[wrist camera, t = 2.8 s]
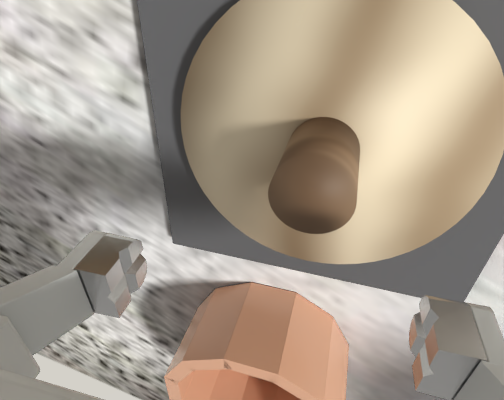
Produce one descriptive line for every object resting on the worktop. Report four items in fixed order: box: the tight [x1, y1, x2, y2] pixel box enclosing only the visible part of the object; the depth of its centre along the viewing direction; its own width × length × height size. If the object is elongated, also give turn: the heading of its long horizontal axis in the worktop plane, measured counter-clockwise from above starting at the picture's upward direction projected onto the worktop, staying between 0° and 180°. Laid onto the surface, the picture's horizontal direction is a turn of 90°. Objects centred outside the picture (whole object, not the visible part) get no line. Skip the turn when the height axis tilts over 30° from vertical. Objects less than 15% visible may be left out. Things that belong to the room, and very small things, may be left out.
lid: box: [181, 0, 504, 264], centre depth 15 cm, size 14×14×5 cm
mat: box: [137, 0, 504, 302], centre depth 17 cm, size 18×18×1 cm
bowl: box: [164, 282, 349, 400], centre depth 26 cm, size 12×12×6 cm
